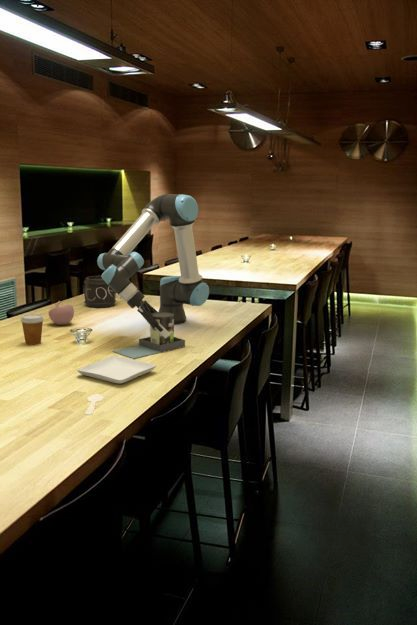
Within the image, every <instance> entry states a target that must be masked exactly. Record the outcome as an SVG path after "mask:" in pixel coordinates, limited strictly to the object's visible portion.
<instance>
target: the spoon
mask: <svg viewBox="0 0 417 625" xmlns="http://www.w3.org/2000/svg"><path fill="white" fill-rule="evenodd" d="M104 399H105V397H104V395H102V394H100V393H95V394H90V395H89V396H88V397H87V398H86V401H88V402H89V406H88V407H87V409H86V411H85V412H84V415H86V416H90V415H93V414H94V410H95V407H96V403H99V402H102V401H103V400H104Z"/></svg>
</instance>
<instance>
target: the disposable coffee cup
mask: <svg viewBox="0 0 417 625" xmlns="http://www.w3.org/2000/svg"><path fill="white" fill-rule="evenodd" d="M44 319H45V318H44V316H43V315H42V314H37V313H33V314H31V313H29V314H24V315H22V316H21V318H20V321H21V325H22V331H23V336H24V340H25V345H26V346H38V345H40V344H41V343H42V336H43V335H42V333H43V322H44Z"/></svg>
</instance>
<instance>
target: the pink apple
mask: <svg viewBox="0 0 417 625" xmlns="http://www.w3.org/2000/svg"><path fill="white" fill-rule="evenodd" d="M59 304H61V301H60V300H58V302H56V303H55V307H53V308H51V309H50V310H48V316H49V319H50V320H51V322H53V324H56V325H58V326H65V325H68V324H70V322H72V320H73V318H74V315H75V310H74V307H73V305H72V304H62V305H60V306H59Z"/></svg>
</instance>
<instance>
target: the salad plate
mask: <svg viewBox="0 0 417 625" xmlns="http://www.w3.org/2000/svg"><path fill="white" fill-rule="evenodd" d="M156 367H157V365H156V364H153V363H149V362H145V361H142V360H137V359H132V358H129V357H125V356H119V355H111V356H109V357H105V358H103V359H100V360H98V361H95V362H93V363H90V364H87V365H84V366H82V367H79V368H77V369H76V371H77V372H78V373H79V374H81V375H83V376H85V377H90V378H94V379H98V380H101V381H105V382H109V383H114V384H124V383H127V382H129V381H131V380H134V379H136V378H139V377H140V376H143V375H145V374H147V373H150V372H151V371H153V370H154V369H155V368H156ZM138 376H139V377H138Z"/></svg>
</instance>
